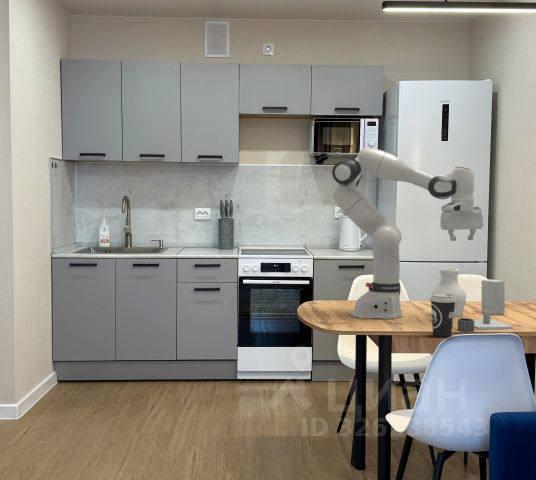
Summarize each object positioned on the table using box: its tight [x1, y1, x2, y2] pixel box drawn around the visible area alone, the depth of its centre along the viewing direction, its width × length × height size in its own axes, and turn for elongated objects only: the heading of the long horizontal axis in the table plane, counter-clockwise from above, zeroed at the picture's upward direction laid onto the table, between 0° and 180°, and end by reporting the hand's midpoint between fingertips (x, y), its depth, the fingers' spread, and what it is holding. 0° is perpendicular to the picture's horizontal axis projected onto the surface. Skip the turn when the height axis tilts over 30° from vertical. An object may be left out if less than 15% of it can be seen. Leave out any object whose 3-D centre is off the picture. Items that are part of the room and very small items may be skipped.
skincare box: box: [481, 278, 506, 316], centre depth 285 cm, size 8×6×15 cm
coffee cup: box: [429, 293, 457, 338], centre depth 239 cm, size 10×10×15 cm
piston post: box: [473, 310, 513, 331], centre depth 257 cm, size 14×14×6 cm
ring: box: [457, 317, 475, 333], centre depth 249 cm, size 6×6×4 cm
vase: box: [431, 267, 467, 318], centre depth 281 cm, size 14×14×20 cm
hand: (461, 240), depth 265 cm, fingers open, 8 cm apart
